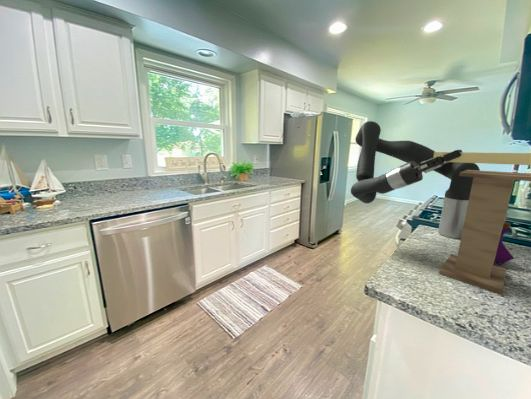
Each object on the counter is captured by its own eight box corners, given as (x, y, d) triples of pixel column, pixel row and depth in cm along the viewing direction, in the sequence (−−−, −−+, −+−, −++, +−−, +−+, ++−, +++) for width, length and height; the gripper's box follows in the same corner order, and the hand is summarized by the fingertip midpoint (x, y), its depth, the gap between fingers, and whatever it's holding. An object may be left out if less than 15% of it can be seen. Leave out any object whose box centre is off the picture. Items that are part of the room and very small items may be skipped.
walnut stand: (450, 257, 83) (468, 169, 76) (505, 273, 73) (532, 173, 65) (438, 273, 72) (458, 173, 65) (501, 294, 62) (532, 177, 55)
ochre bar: (435, 161, 76) (436, 151, 76) (535, 164, 60) (538, 153, 60) (432, 161, 75) (434, 152, 74) (535, 165, 58) (538, 153, 58)
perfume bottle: (512, 267, 76) (526, 215, 72) (486, 265, 78) (498, 214, 74) (495, 257, 83) (507, 209, 79) (471, 255, 85) (482, 208, 81)
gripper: (391, 167, 79) (450, 141, 66) (405, 165, 88) (459, 141, 75) (401, 187, 78) (462, 164, 65) (414, 183, 87) (471, 162, 74)
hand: (460, 152), depth 70 cm, fingers closed on ochre bar, 3 cm apart
